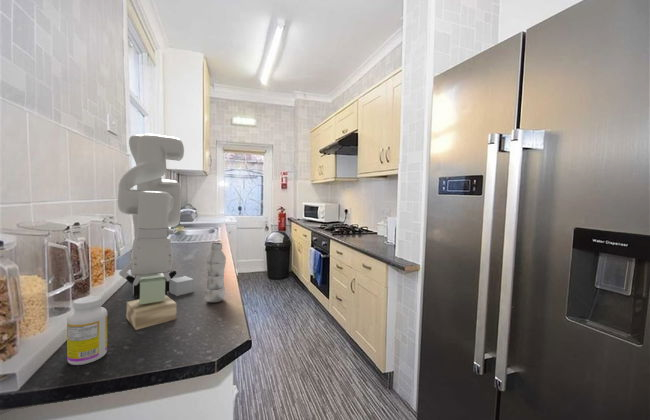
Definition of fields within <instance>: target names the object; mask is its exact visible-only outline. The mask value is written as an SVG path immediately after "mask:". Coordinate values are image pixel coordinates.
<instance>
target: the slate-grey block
mask: <svg viewBox="0 0 650 420" xmlns="http://www.w3.org/2000/svg"><path fill="white" fill-rule="evenodd" d="M168 293H170V294H172V295H175V296H176V297H178V296H183V295H186V294H187V295H188V294H190V293H194V278H191V277H189V276H186V275H184V276H178V277H173V278H172V279H171V280H170V282H169V291H168Z"/></svg>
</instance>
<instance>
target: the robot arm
mask: <svg viewBox="0 0 650 420" xmlns="http://www.w3.org/2000/svg"><path fill="white" fill-rule="evenodd" d="M128 145H129V146H128V147H129V151H130V152H131V155H132V158H133V160H134V162H135V164H136V165H135V166H133V167H132V168H130V169H128V171H126V172H125V173H124V174H123V176H122V177H121V179H120V181H119V184H118V192H117V207H118V210H119V211H120V212H121V213H122V214H124V215H130V216H131V217H132V222H133V230H134V231H133V233H134V235H133V236H134V239H133V241H132V246H131V254H130V255H131V256H130V261H129V263H127V265H125V266H124V267H123V268H122V269H121V270H120V271H119V272H118V274H119V276H121V277H122V278H123V279H125V280H126V281H127V282H129V283H130V284H132V286H133V285H134V295H133V297H135V298H136V300H139V299H140V284H139V281H140V278H141V276H142V275H147V274H157V273H158V275H163V276H164V278H165V295H167V296H168V292H169V282H170V280H171V279H173V278H175V276H177V274H178V273H179V272H180V271H181V270H182V269H183V265H182V264H180V263H179V262H177V261H176V260H175V259H174V258H173V248H172V241H171V237H170V235H173V234H174V232H175V231H174V229H171V228H172V227H177V226H178V225H179V224H180V222H181V209H182V206H181V205H182V204H181V203H182V188H181V185H180V183H179V182H178V181H177V180H172V179H164V178H162V177H163V176H165V174H166V173H167V160H169V161H178V162H180V161H181V160H182V159H183V158H184V155H185V147H184V146H185V145H184V143H183V141H182V140H181V138H178V137H175V136H167V135H161V134H154V133H145V134H134V135H131V136H130V137H129V139H128ZM135 186H136V189H132V188H134V187H135ZM170 227H171V228H170ZM173 267H174V268H173ZM129 271H131V274H133V275H135V277H133V275H131V274H130V273H128V272H129Z"/></svg>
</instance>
